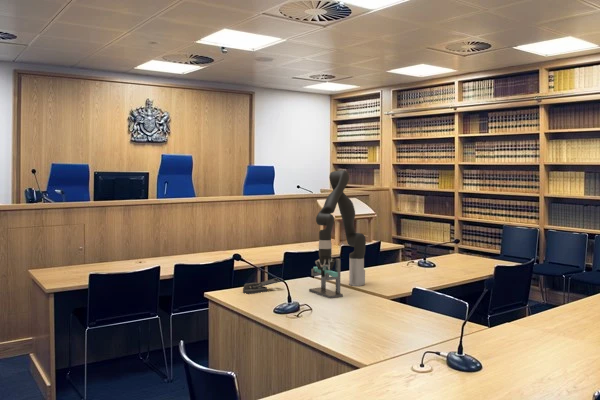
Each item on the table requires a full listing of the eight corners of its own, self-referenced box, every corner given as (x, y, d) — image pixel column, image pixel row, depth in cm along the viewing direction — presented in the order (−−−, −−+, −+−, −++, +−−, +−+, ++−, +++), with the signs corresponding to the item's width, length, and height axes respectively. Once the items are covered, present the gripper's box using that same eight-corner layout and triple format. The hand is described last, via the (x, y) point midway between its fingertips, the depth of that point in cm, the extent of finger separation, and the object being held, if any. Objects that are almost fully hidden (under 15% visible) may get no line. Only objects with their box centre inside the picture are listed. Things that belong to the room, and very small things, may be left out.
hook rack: (321, 289, 325) (321, 254, 324) (342, 296, 307) (343, 259, 306) (309, 291, 321) (309, 255, 320) (330, 298, 302) (330, 261, 301)
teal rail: (316, 270, 323) (316, 266, 323) (337, 276, 304) (337, 272, 304) (313, 270, 322) (313, 267, 321) (334, 277, 303) (334, 272, 303)
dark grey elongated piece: (284, 279, 323) (246, 283, 312) (284, 290, 324) (246, 294, 312) (278, 277, 331) (240, 280, 320) (278, 287, 332) (240, 291, 320)
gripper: (331, 245, 319) (331, 274, 320) (311, 247, 311) (311, 276, 312) (338, 247, 312) (338, 276, 313) (318, 249, 305) (318, 279, 306)
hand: (325, 276), depth 313 cm, fingers closed on teal rail, 2 cm apart
